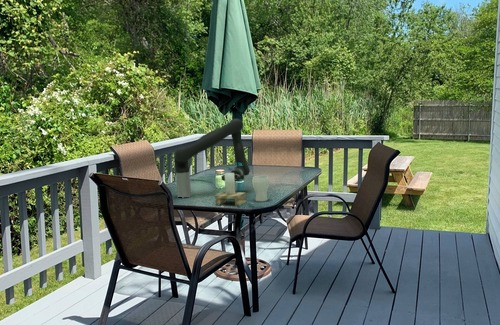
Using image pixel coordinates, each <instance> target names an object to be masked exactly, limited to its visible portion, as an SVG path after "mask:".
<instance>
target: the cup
mask: <svg viewBox="0 0 500 325" xmlns="http://www.w3.org/2000/svg"><path fill="white" fill-rule="evenodd" d="M251 182H252V187H253V189H254V192H255V202H266V201H268V194H267V193H268V189H269V186H270V179H269V176H268V175H255V176H253V177H252V181H251Z"/></svg>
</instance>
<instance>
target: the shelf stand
mask: <svg viewBox="0 0 500 325" xmlns="http://www.w3.org/2000/svg"><path fill="white" fill-rule="evenodd" d="M214 199H215V201H214V202H215V205H216V204H221V205H223V204H225V203H227V202H228V199H230V200H231V199H233V200H234V206H235V207H240V206H242V205H244V204H245V203H247V192H244V191H243V192H242V191H241V192H238V191H237V192H236V191H235V194H234V195H226V191H222V192H219V193H217V194H216V195H214ZM226 201H227V202H226ZM222 203H223V204H222Z"/></svg>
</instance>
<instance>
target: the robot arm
mask: <svg viewBox="0 0 500 325" xmlns="http://www.w3.org/2000/svg"><path fill="white" fill-rule="evenodd" d="M243 128H244V122H243V120H241V119H240V118H233V119H231V120H230V121H229V122H228V123H226V124H224V125H223V126H221V127H220V128H216V129H214V130H212V131H210V132H207V133H206V134H204V135H201V137H199V138H198V139H197V140H195V141H194V142H193V143H192V144H190V145H188V146H186V147H179V148H177V149H176V150H175V152H174V168H175V180H176V190H177V191H176V192H177V198H178V197H189V196H191V197H192V186H191V174H190V172H191V171H190V163H189V160H190V159H191V158H193V157H195V156H196V155H198V154H200V153H202V152H204V151H206V150H207V149H210V148H212V147H214V146H215V145H217V144H218V143H220V142H221V141H223V140H225V138H228V137H229V136H231V140H232V146H233V152H234V153H233V154H234V161H235V163H238V164H242V165H238V166H235V167H234V169H233V170H232V171H230V172H229V173H234V178H235V182H239V181H242V180H244V179H245V176H248V175H250V167H249V165H248V162H247V160H246V154H245V148H244V145H243V140H242V136H241V134H242V132H241V131H242V130H243ZM221 181H223V182H225V174H223V175H221ZM189 198H190V197H189Z"/></svg>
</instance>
